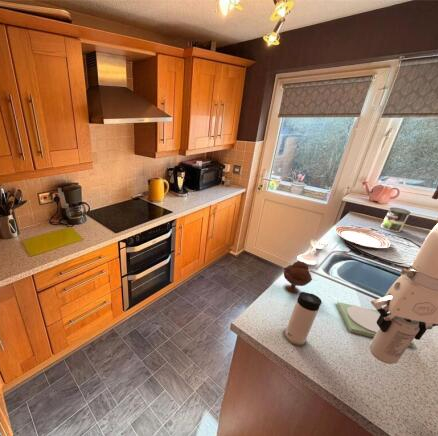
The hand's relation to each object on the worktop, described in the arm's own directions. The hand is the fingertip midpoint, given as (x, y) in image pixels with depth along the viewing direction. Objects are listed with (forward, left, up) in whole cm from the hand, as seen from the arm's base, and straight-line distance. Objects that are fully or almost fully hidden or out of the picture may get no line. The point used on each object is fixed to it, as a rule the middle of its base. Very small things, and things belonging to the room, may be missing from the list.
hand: (397, 330), depth 61 cm
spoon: (-3, -73, -22) cm, 77 cm away
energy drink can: (0, 0, -10) cm, 10 cm away
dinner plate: (-37, -104, -22) cm, 112 cm away
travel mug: (+17, -9, -22) cm, 29 cm away
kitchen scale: (-12, -26, -22) cm, 36 cm away
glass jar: (-65, -131, -22) cm, 148 cm away
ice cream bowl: (+13, -37, -22) cm, 45 cm away
